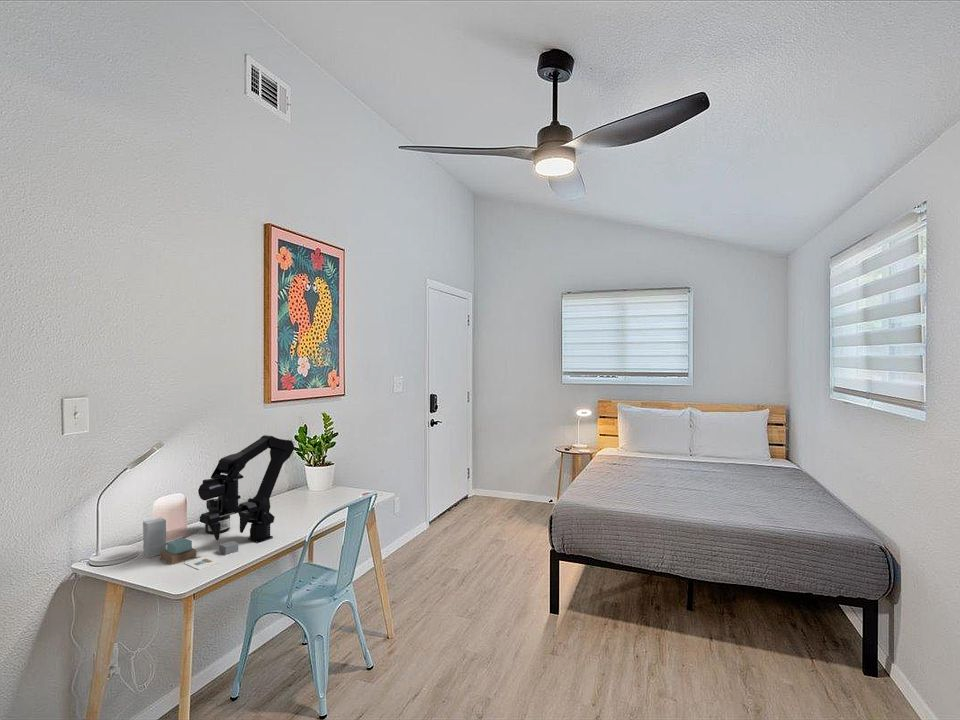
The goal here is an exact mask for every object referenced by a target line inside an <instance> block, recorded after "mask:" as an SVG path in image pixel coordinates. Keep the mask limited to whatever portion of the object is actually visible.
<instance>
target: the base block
mask: <svg viewBox="0 0 960 720" xmlns="http://www.w3.org/2000/svg"><path fill="white" fill-rule="evenodd" d="M194 558H197V549H196V548H193V547H192V549H191V550H188V551H185V552H182V553H179V554H173V553H171V552H168V551H167V549H166V550H164V551H161V552H160V555H159V560H161V561H163V562H165V563H168V564H170V565H175V564H179V563H181V562H186V561H188V560H190V559H194Z"/></svg>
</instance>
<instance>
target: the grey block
mask: <svg viewBox="0 0 960 720" xmlns="http://www.w3.org/2000/svg"><path fill="white" fill-rule="evenodd" d="M237 552H239V543H238V542H236V541H234V540H230V541H227V542H223V543H219V553H221V554H223V555H224V556H227V555H228V556H229V555H231V553H232V554H234V553H237Z"/></svg>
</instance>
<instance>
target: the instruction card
mask: <svg viewBox="0 0 960 720" xmlns="http://www.w3.org/2000/svg"><path fill="white" fill-rule="evenodd" d="M183 564H185V565H186V566H188V567H192V568H193V569H196V570H198V571H199V570H203V569H206V568H208V567H211V566H214V565H217V564H220V562H219V561H218V560H215V559H212V558H210V557H207V556H202V557H199V558H195V559H192V560H190V561H187V562H186V561H185V562H184V563H183Z"/></svg>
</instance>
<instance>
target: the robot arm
mask: <svg viewBox="0 0 960 720" xmlns="http://www.w3.org/2000/svg"><path fill="white" fill-rule="evenodd" d="M268 449H270V450H269V455H270V460H269V463H268V465H267V467H266V471H265V473H264V476H263V478H262V481H261V482H260V485H259V488H258V490H257V493H256V495H255V496H254V497H253V498H250V497H249V498H248V499H247V501H246V502H241V503H239V499H241V495H239V480H242V479H243V478H244V477H245V476H244V475H242V474H241V473H240V472H241V471H243V470H244V469H245V467H246V464H247V463H249V461H251V460H253V459H254V458H256V457H257V456H259V455H261V454H262V453H263V452H265V451H266V450H268ZM294 450H295V445H294V442H293V441H292V440H290V439H283V438H277V437H276V436H273V435H267V434H265V435H264V434H263V435H262V436H261V437H259V439H257V440H256V441H254V442H252V443H250V445H248V446H247V447H245V448H243V449H242V450H240V451H239V452H236V453H232V454H229V455H226V456H224V457H222V458H220V459H219V460H218V463H217V465H216V467H215V469H214V470H213V472H212V474H211V475H210V478H207V479H203V480H202V483H201V484H200V485H199V488H198V492H197V493H198V496H199V498H200V499H201V500H202V501H206V502H205V503H206V509H207V510H208V509H212V511H215V510H216V509H217V511H221V512H219V513H215V512H212V511H210V512H209V511H206V512H204V513H203V512H202V513H201V514H200V516H199V522H200V523H202V524H204V525H205V524H207V525H209V526H210V528H211V530H212V532H213V534H212V535H213V537H214V539H215V541H217V542H218V541H219V539H220V534H221V533H220V522H218V521H219V520H220V518H221V517H225V516H228V515H230V516H231V515H234V514H238V516H239V533H241V534H243V533H244V531H245V529H246V527H247V525H248V524H250V528H249V537H248V540H249V541H253V542H255V543H261V542H265V541H267V540H270V539H273V538H274V536H273V535H271V524H273V523H274V522H275V516H274V515H273V514H272V513H271V512H270V510H271V502H270V499H271V496H272V493H273V491H274V487H275V485H276V482H277V481H278V478H279V475H280V472H281V471H282V467H283V464H285V462H286V461H287V460H289V458H290V457H291V456H292V454H293V452H294ZM216 498H217V499H218V500H217V501H214V499H216ZM225 513H226V514H225Z"/></svg>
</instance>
